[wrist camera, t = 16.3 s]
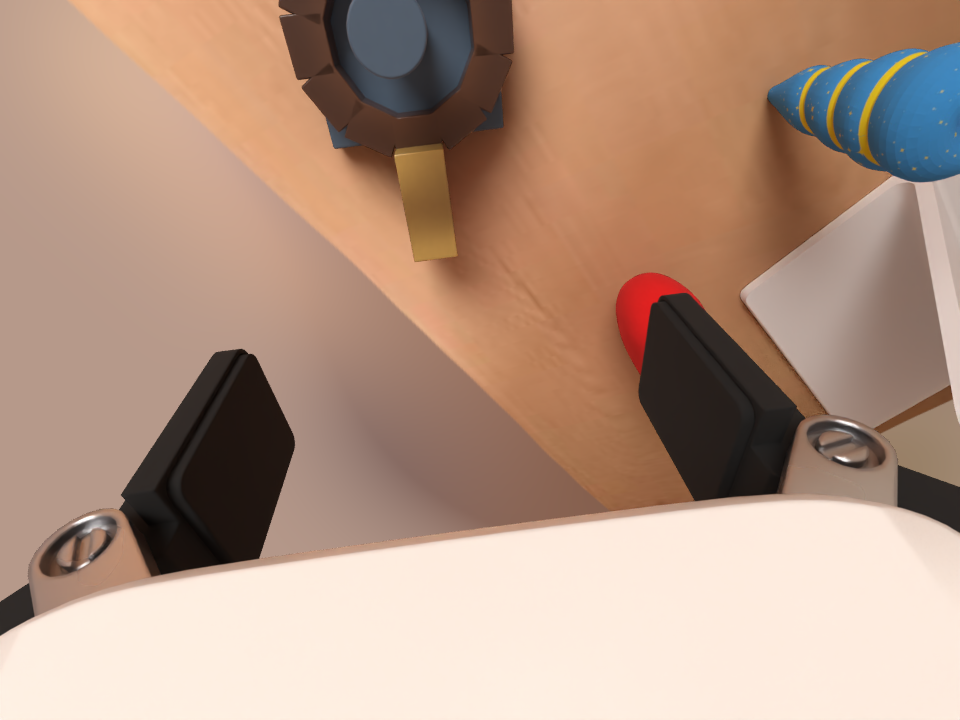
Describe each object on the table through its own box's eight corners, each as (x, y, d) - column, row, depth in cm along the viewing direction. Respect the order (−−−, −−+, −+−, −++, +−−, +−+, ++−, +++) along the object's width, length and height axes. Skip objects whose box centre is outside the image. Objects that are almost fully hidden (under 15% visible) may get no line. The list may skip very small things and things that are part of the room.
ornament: (730, 147, 30) (935, 222, 18) (729, 59, 27) (975, 77, 15) (810, 118, 30) (1079, 175, 17) (818, 25, 27) (1149, 14, 14)
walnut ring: (257, -99, 21) (228, -122, 18) (498, -128, 21) (510, -155, 18) (352, 248, 30) (344, 271, 27) (517, 227, 30) (527, 247, 27)
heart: (691, 337, 39) (761, 416, 31) (632, 367, 40) (684, 451, 32) (643, 224, 33) (715, 286, 25) (576, 264, 34) (622, 336, 26)
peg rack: (280, -80, 22) (154, -180, 12) (485, -104, 22) (534, -222, 12) (337, 144, 28) (286, 205, 18) (500, 124, 28) (541, 173, 18)
